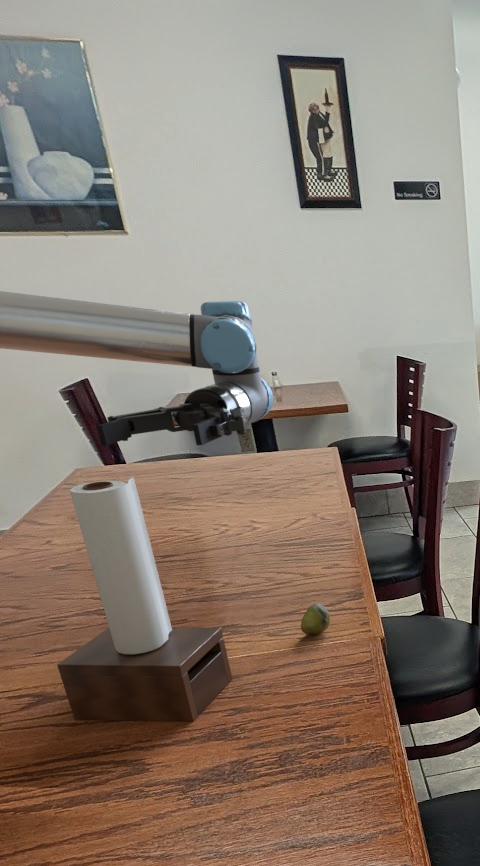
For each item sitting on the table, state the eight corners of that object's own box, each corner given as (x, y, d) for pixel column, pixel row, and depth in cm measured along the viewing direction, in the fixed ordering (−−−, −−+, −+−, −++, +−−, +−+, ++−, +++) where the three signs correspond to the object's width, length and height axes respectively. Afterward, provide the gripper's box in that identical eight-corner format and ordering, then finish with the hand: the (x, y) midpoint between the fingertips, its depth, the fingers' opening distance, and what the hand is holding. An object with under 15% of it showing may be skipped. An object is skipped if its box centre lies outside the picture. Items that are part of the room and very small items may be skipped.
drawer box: (74, 719, 107) (56, 664, 103) (124, 677, 117) (109, 626, 114) (193, 721, 106) (179, 665, 102) (232, 678, 116) (221, 627, 113)
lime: (302, 641, 128) (297, 611, 126) (304, 628, 132) (299, 600, 130) (331, 638, 129) (327, 608, 126) (332, 626, 133) (328, 597, 131)
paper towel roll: (118, 660, 104) (70, 493, 95) (114, 643, 109) (68, 483, 99) (178, 647, 107) (138, 484, 98) (172, 631, 112) (133, 475, 102)
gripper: (296, 433, 132) (242, 462, 113) (147, 434, 134) (69, 463, 115) (288, 385, 129) (232, 406, 110) (136, 386, 131) (54, 408, 112)
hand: (149, 435), depth 113 cm, fingers open, 13 cm apart
